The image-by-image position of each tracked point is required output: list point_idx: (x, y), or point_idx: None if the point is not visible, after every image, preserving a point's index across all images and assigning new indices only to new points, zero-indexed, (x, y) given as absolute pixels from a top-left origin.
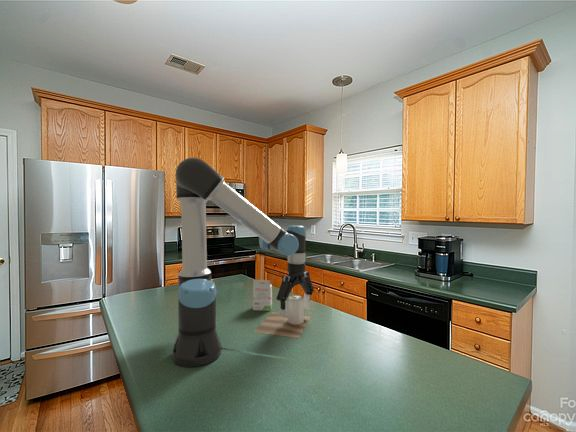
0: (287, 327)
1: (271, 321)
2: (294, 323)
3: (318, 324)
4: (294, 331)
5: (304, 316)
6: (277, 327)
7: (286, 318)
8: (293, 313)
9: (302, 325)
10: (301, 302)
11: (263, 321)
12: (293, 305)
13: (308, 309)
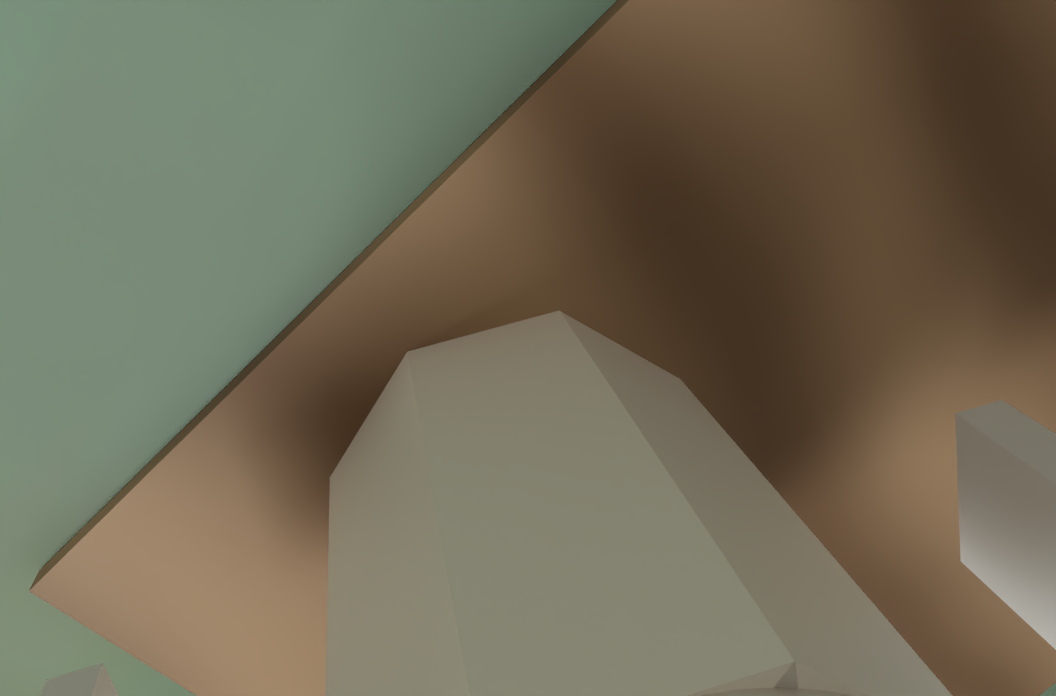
0: (875, 271)
1: (934, 646)
2: (653, 364)
3: (49, 146)
4: (885, 4)
5: (191, 642)
6: (1023, 364)
7: None
8: (768, 495)
9: (528, 212)
10: (633, 683)
11: (1040, 690)
12: (907, 655)
13: (96, 677)
